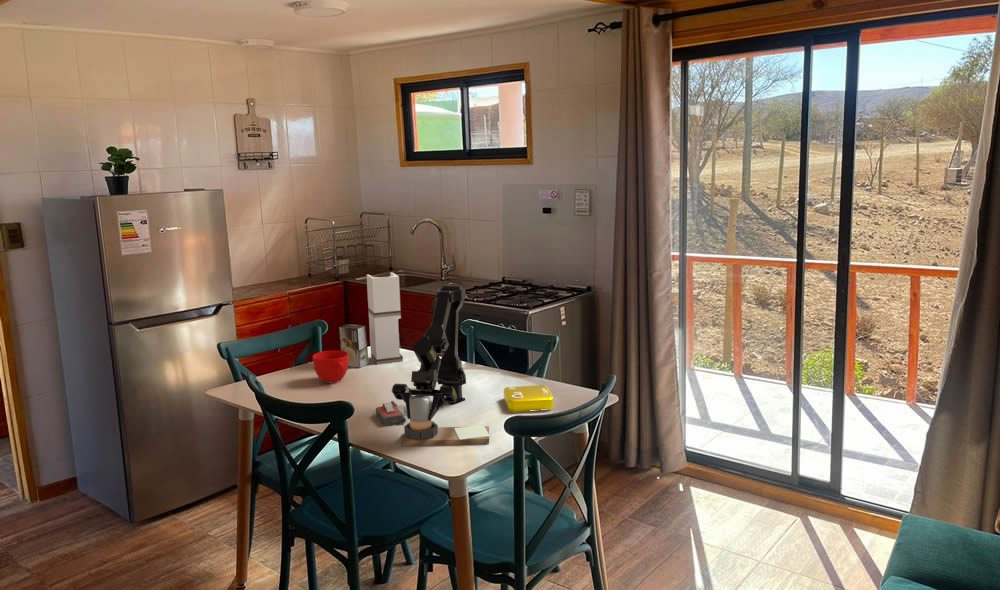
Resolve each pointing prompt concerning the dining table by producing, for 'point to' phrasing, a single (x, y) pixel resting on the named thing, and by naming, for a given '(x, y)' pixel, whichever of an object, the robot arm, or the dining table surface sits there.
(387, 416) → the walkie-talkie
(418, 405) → the two-tone cylinder
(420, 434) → the grey octagonal ring
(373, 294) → the tall white stacked column
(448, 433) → the walnut board
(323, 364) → the ceramic cup
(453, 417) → the dining table surface
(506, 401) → the element tile
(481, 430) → the sage pad
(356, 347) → the coffee box
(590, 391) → the dining table surface
